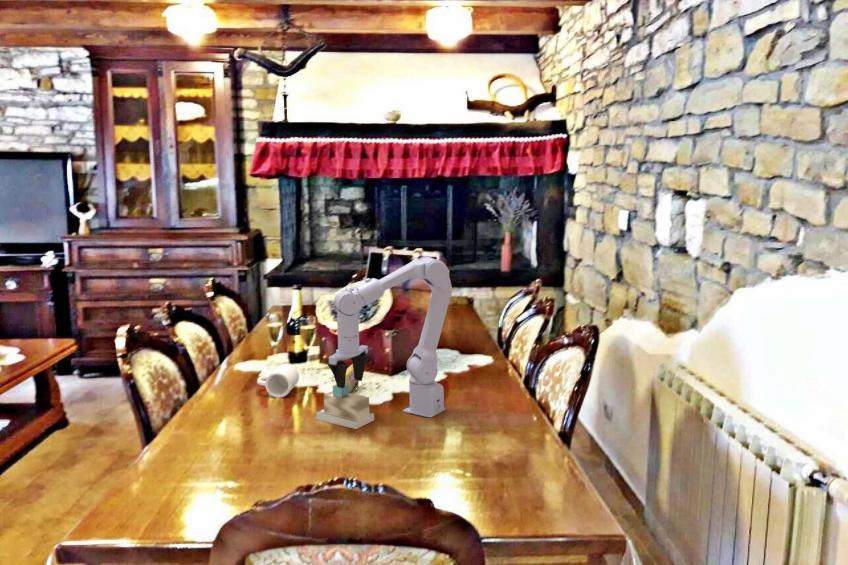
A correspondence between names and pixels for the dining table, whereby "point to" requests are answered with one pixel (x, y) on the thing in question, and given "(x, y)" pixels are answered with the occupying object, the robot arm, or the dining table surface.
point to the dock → (344, 419)
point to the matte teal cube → (340, 391)
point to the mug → (280, 380)
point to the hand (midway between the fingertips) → (349, 383)
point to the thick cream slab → (347, 405)
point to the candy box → (351, 380)
